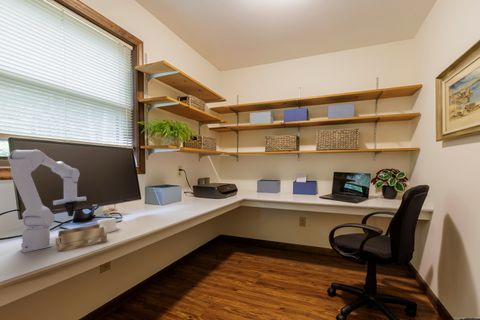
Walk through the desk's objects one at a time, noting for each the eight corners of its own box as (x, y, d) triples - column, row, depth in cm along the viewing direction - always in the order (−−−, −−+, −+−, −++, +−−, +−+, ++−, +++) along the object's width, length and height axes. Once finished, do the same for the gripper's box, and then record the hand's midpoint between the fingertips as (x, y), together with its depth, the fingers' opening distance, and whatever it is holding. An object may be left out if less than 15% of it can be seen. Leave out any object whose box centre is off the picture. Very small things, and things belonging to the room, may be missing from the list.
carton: (58, 252, 97) (58, 245, 97) (55, 244, 106) (55, 237, 106) (107, 241, 110) (107, 234, 110) (100, 235, 119) (100, 228, 119)
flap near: (61, 244, 98) (61, 243, 98) (60, 235, 99) (60, 234, 99) (104, 234, 109) (104, 234, 109) (103, 227, 111) (103, 226, 111)
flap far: (58, 231, 105) (58, 230, 105) (58, 237, 107) (58, 236, 107) (99, 224, 116) (99, 223, 117) (98, 229, 118) (98, 228, 118)
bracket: (111, 229, 133) (110, 217, 133) (119, 229, 128) (118, 217, 128) (71, 239, 116) (70, 226, 117) (78, 240, 111) (77, 226, 112)
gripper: (57, 192, 112) (57, 220, 112) (89, 189, 124) (89, 214, 124) (51, 191, 115) (51, 218, 115) (82, 188, 128) (83, 212, 128)
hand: (70, 216), depth 120 cm, fingers closed
